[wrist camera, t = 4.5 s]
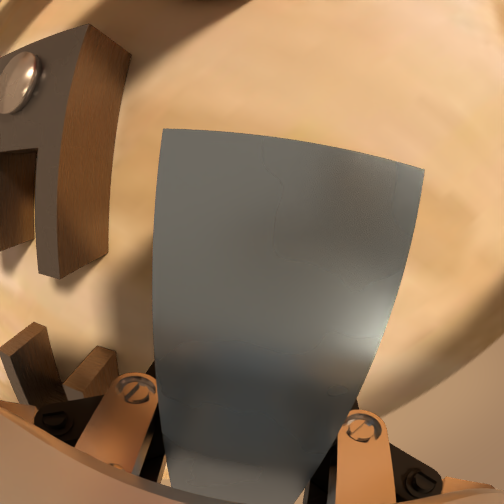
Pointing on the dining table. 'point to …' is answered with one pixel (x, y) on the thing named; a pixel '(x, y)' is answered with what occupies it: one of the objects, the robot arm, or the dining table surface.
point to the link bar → (268, 302)
